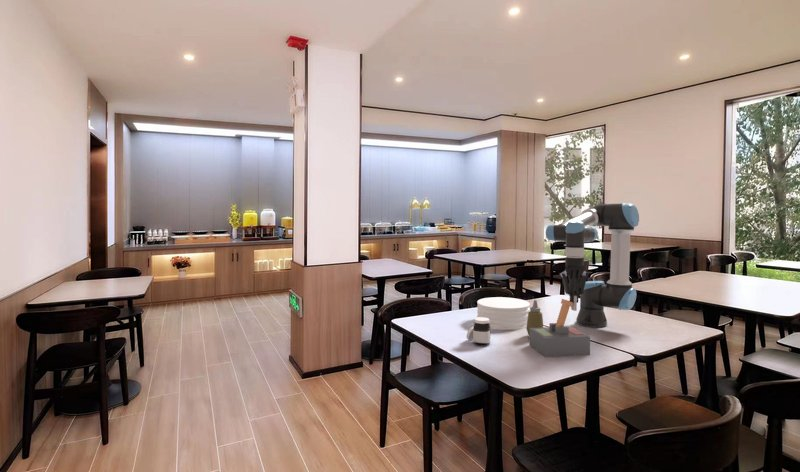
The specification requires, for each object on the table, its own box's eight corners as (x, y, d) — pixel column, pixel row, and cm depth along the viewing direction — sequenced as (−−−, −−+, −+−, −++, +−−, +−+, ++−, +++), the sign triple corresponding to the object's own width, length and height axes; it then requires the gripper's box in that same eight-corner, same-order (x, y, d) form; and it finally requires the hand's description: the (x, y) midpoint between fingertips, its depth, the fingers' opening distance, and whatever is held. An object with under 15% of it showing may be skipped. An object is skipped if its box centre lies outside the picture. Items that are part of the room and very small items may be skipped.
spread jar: (488, 347, 191) (488, 322, 190) (463, 345, 195) (463, 320, 194) (492, 340, 202) (492, 316, 201) (468, 337, 206) (468, 314, 205)
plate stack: (540, 324, 229) (540, 303, 228) (505, 333, 213) (505, 310, 213) (501, 314, 252) (501, 295, 252) (466, 321, 237) (466, 301, 236)
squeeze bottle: (534, 340, 201) (535, 302, 200) (522, 335, 208) (523, 299, 207) (547, 337, 205) (547, 301, 204) (534, 333, 212) (535, 298, 211)
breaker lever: (558, 330, 188) (568, 300, 188) (563, 333, 185) (572, 302, 184) (552, 329, 188) (562, 298, 188) (557, 331, 184) (566, 300, 184)
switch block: (570, 343, 196) (571, 319, 195) (589, 354, 180) (590, 329, 179) (529, 345, 194) (529, 321, 193) (545, 357, 178) (545, 331, 177)
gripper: (583, 255, 190) (582, 307, 191) (556, 256, 188) (556, 308, 189) (592, 257, 182) (592, 311, 183) (565, 258, 181) (564, 312, 182)
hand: (573, 310), depth 186 cm, fingers closed
